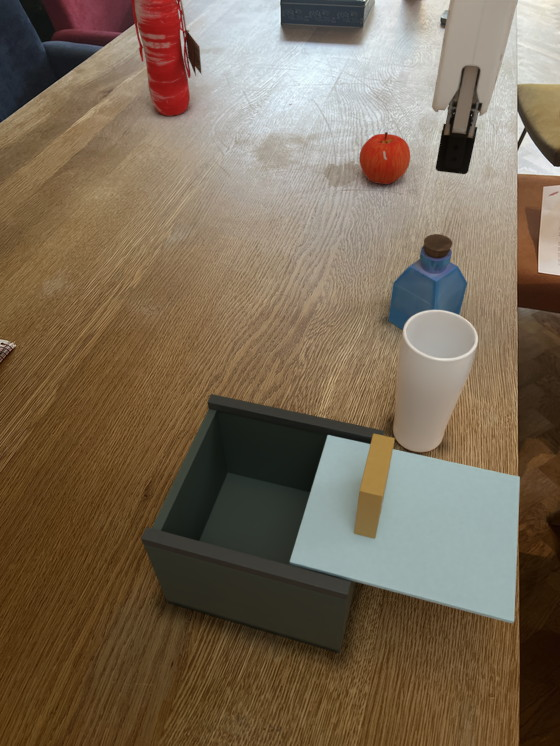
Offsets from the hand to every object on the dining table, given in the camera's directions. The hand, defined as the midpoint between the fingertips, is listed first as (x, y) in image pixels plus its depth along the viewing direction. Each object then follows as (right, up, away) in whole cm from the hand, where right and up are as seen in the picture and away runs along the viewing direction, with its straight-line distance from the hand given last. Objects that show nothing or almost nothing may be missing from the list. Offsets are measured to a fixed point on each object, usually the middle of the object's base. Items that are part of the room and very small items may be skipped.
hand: (452, 167), depth 62 cm
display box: (-18, -37, -5) cm, 42 cm away
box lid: (-8, -32, -15) cm, 36 cm away
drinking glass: (-3, -28, +4) cm, 28 cm away
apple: (0, +11, +39) cm, 41 cm away
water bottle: (-37, +31, +59) cm, 76 cm away
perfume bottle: (+1, -14, +16) cm, 21 cm away
